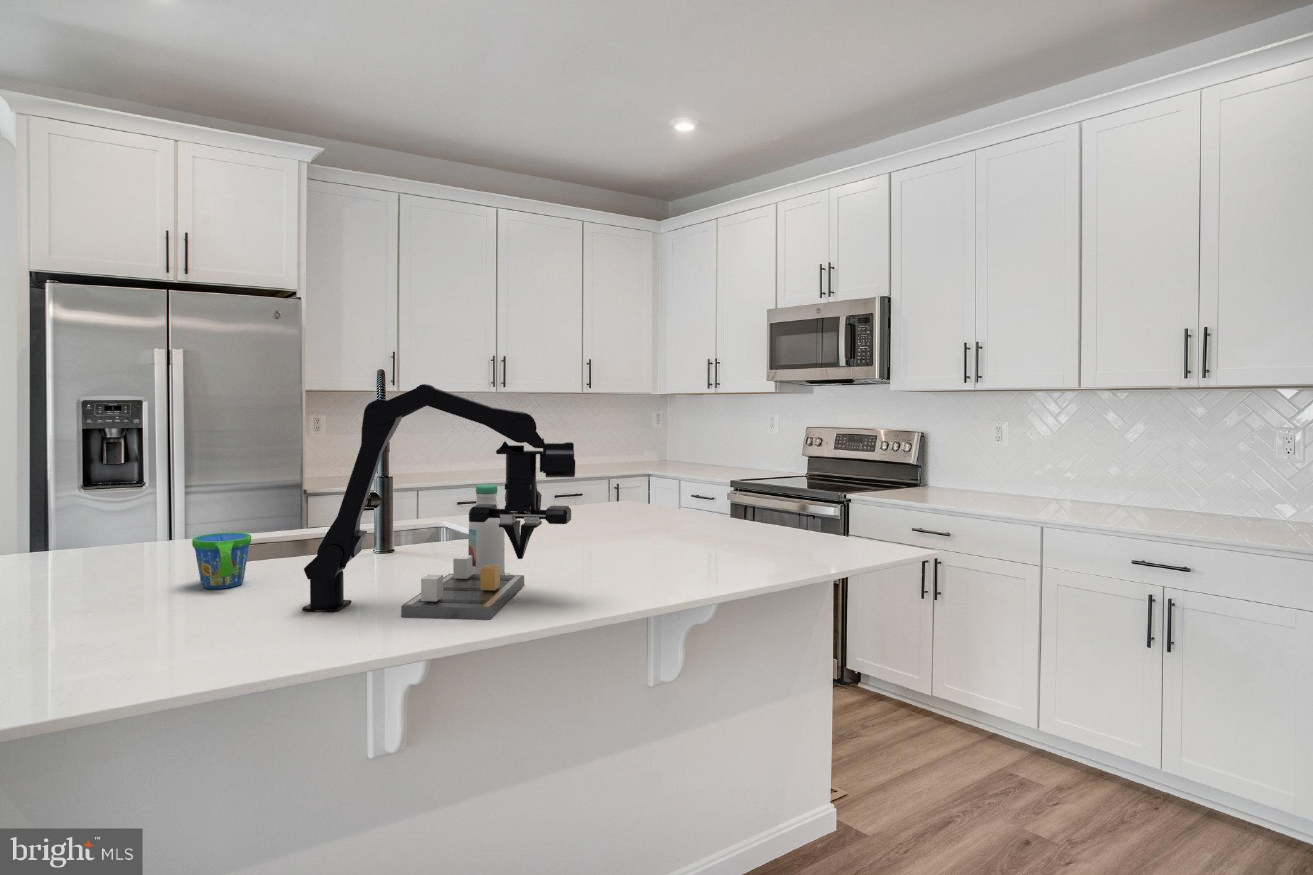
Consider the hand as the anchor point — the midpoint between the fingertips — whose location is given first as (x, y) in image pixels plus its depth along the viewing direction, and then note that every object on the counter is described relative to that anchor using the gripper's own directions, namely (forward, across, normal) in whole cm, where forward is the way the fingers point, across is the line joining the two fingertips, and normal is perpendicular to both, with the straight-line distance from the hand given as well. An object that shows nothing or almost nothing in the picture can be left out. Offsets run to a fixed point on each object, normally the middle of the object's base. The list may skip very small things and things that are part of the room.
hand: (520, 558), depth 149 cm
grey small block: (+6, +14, +9) cm, 18 cm away
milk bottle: (+8, +12, -20) cm, 25 cm away
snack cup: (+9, +63, -6) cm, 64 cm away
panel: (+8, +10, 0) cm, 13 cm away
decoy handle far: (+6, +14, -9) cm, 18 cm away
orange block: (+6, +6, 0) cm, 9 cm away
